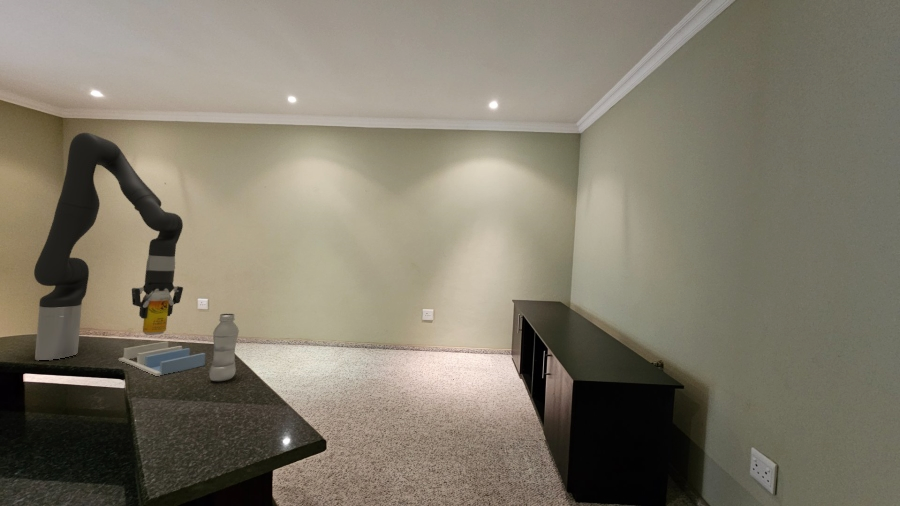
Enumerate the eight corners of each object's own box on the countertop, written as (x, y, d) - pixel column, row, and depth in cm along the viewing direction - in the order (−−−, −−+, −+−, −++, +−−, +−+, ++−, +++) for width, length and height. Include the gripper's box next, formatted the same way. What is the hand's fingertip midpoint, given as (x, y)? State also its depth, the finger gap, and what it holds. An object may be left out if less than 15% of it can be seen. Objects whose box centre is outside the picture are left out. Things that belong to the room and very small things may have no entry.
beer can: (154, 335, 112) (159, 291, 112) (137, 334, 112) (141, 290, 112) (170, 332, 118) (174, 290, 118) (153, 330, 118) (157, 288, 118)
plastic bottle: (204, 380, 100) (209, 314, 100) (227, 374, 106) (232, 311, 106) (215, 385, 97) (221, 317, 97) (239, 379, 103) (244, 314, 103)
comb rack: (118, 361, 110) (119, 349, 111) (165, 352, 122) (166, 341, 122) (156, 376, 100) (157, 363, 100) (204, 365, 112) (205, 353, 112)
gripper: (178, 268, 123) (174, 313, 123) (128, 267, 110) (123, 318, 110) (190, 270, 120) (185, 316, 120) (139, 269, 107) (134, 321, 107)
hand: (155, 316), depth 115 cm, fingers closed on beer can, 6 cm apart
